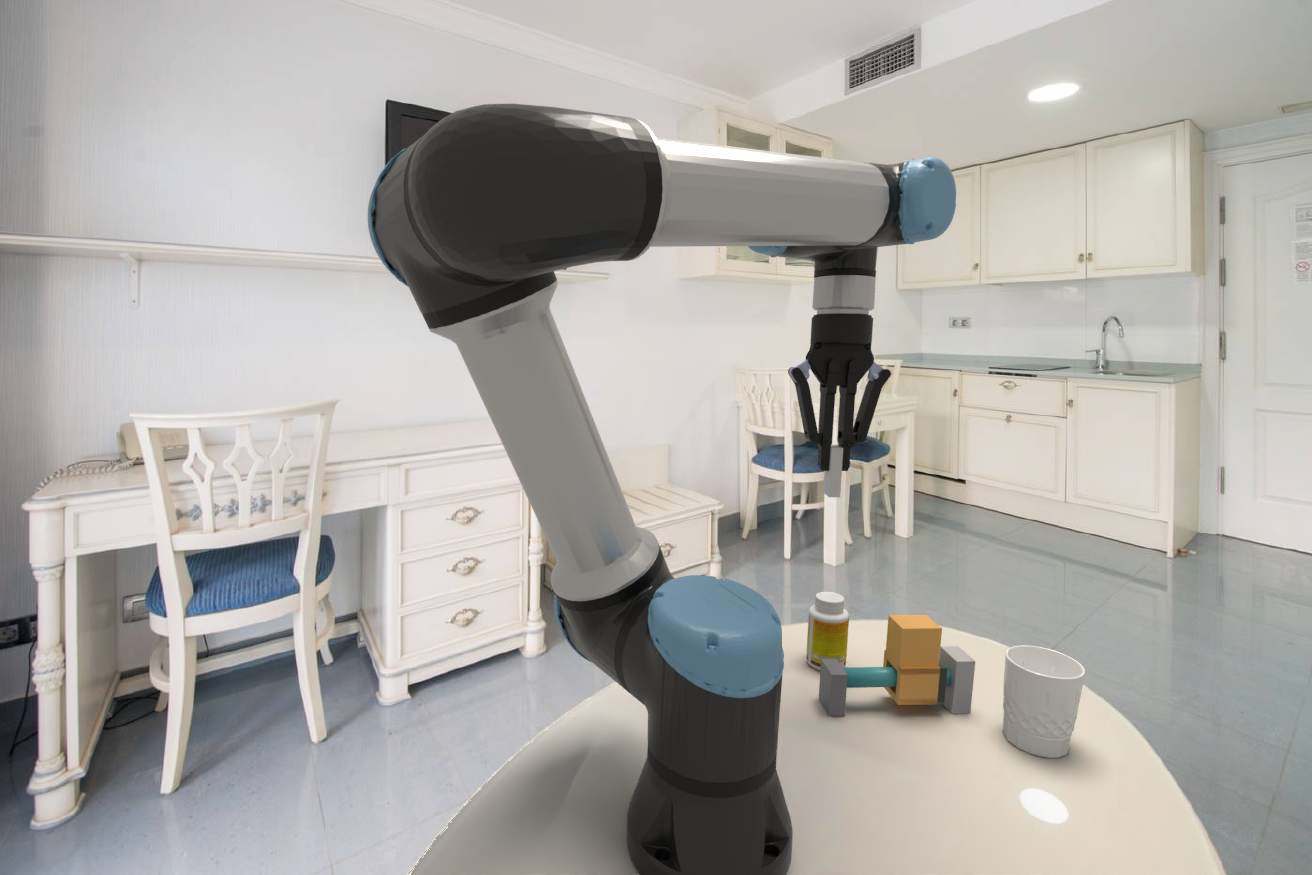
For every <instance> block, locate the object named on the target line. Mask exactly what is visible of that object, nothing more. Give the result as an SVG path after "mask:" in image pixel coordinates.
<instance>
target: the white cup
mask: <svg viewBox="0 0 1312 875" xmlns="http://www.w3.org/2000/svg"><path fill="white" fill-rule="evenodd" d="M1004 654H1005V656H1004V671H1003V672H1004V675H1003V699H1002V700H1003V701H1002V702H1003V703H1002V707H1003V721H1002V733H1003V735H1004V737H1005V738H1006V740H1007V741H1008V742H1010V744H1012V745H1014V746H1015V747H1016V748H1018V749H1020V750H1022V751H1024V752H1026V753H1028V754H1031V755H1035V756H1037V757H1038V756H1039V757H1043V758H1048V759H1049V758H1052V759H1053V758H1056V759H1057V758H1058V759H1059V758H1062V757H1064V756H1066V755H1068V753H1069V749H1070V744H1071V743H1070V742H1071V739H1072V738H1071V737H1072V736H1073V735H1072V734H1073V732H1074V730H1075V724H1076V721H1077V718H1078V712H1079V706H1080V702H1081V701H1080V700H1081V697H1082V691H1083V685H1084V680H1085V676H1086V669H1085V667H1084V666H1083V665H1082V664H1081V663H1080V662H1079V661H1078V660H1076V659H1074V658H1072V656H1069V655H1067V654H1065V653H1062V652H1060V651H1057V650H1054V649H1050V648H1046V647H1042V646H1038V645H1026V644H1023V645H1022V644H1021V645H1013V646H1011V647H1009V648H1007V649H1006V650H1005V653H1004Z"/></svg>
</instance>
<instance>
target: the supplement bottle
mask: <svg viewBox="0 0 1312 875" xmlns="http://www.w3.org/2000/svg"><path fill="white" fill-rule="evenodd" d="M808 610H809V611H808V619H807V620H808V621H807V637H806V638H807V639H806V655H805V657H806V662H807V664H808V665H809V666H810V667H812V668H813V669H816V670H818V671H820V669H821V659H837V661H838V662H839V663H840V665H841V666H842V668H846V665H847V652H848V640H849V639H848V637H849V622H850V614H849V612H848V610H847V609H846V608H845V597H844V596H843V595H841V594H839V593H838V592H832V591H821V592H817V593H816V594H815V601H814V604H813V605H812V606H811V607H809V609H808Z"/></svg>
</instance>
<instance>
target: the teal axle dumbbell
mask: <svg viewBox="0 0 1312 875" xmlns="http://www.w3.org/2000/svg"><path fill="white" fill-rule="evenodd" d="M939 667H940V676H939V687H938V698H937V704H942V705H943V706H944V707H945V708H946V709H947V710H948V712H949V713H951V715H956V714H957V715H958V714H960V715H962V714H963V715H966V714H971V710H972V701H973V700H972V699H973V690H974V678H975V671H976V670H975V669H976V661H975V660H974V659H973V658H972V657H971V656H970V655H969V654H968V653H967V652H965V650H963V649H962V648H961V647H960V646H959V645H955V646H954V645H952V646H949V645H947V646H945V645H944V646H943V645H942V646H940V656H939ZM819 672H820V673H819V686H818V701H819V702H820V704H821V706H822V707H823V708H824V710H825V712H826V713H827V715H828V718H829V717H846V715H845V714H846V703H847V702H846V701H847V689H852V688H854V689H859V688H860V689H861V688H884V687H896V685H897V672H898V671H897V670H896V669H895V668H894V667H883V666H867V667H866V666H865V667H864V666H861V667H860V666H859V667H856V666H854V667H852V666H851V667H844V668H842V666H841V665H840V663H839V662H838V661H837V659H821V669H820V670H819Z"/></svg>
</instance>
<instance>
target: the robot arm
mask: <svg viewBox="0 0 1312 875" xmlns="http://www.w3.org/2000/svg"><path fill="white" fill-rule="evenodd" d="M369 197H370V198H369V199H368V200H369V201H368V207H367V227H368V232H369V237H370V240H371V243H372V245H373V248H374V251H375V253H376V254H377V256H378V258H379V260H380V262H381V263H382V264H383V266H384V267H385V268H386V269H387V271H388V272H390V274H391V275H393V276H394V277H395V278H396V279H397V280H398V281H399V282H401V283H402V284H403V285H405V286H407V287H408V289H409V291H410V293H411V295H412V297H413V298H414V301H415V303H416V306H417V308H418V309H419V312H420V314H421V316H422V317H423V319H424V322H425V324H426V325H427V328H428V330H429V332H431V333H433V334H434V335H438V336H440V337H443V338H445V339H447V340H450V341H451V342H453V343H454V344H456V347H457V349H458V351H459V353H460V355H461V357H462V360H463V361H464V364H465V366H466V368H467V370H468V373H469V374H470V377H471V380H472V382H473V383H474V385H475V387H476V390H477V392H478V394H479V397H480V398H481V400H482V402H483V405H484V407H485V409H486V411H487V413H488V415H489V419H490V420H491V422H492V424H493V427H494V429H495V431H496V433H497V435H498V437H499V439H500V441H501V442H500V443H502V446H503V448H504V450H505V452H506V454H507V457H508V459H509V461H510V463H511V465H512V468H513V469H514V472H515V474H516V477H517V478H518V480H519V482H520V485H521V487H522V489H523V491H524V493H525V496H526V497H527V500H528V501H529V504H530V506H531V509H532V510H533V513H534V515H535V518H536V519H537V521H538V524H539V525H540V528H541V531H542V532H543V534H544V536H545V539H546V540H547V543H548V545H549V546H550V549H551V552H552V554H553V555H554V558H555V560H556V563H555V565H554V567H553V569H552V571H551V574H550V585H551V588H552V590H553V592H554V595H553V614H554V618H555V621H556V625H557V627H558V629H559V631H560V633H561V635H562V636H563V638H564V639H565V641H566V642H567V643H568V644H569V646H570V648H572V649H573V651H574V652H575V653H577V654H578V655H579V656H580V657H582V658H583V659H585V660H586V661H587V662H590V663H592V664H593V665H594V666H596V667H597V668H598V669H600V670H601V671H602V672H603V673H605V674H606V676H608V677H609V678H610V679H612V680H613V681H614V682H616V684H618V685H619V686H620V687H622V688H623V689H624V691H626V692H627V693H629V694H630V695H631V696H632V697H634V698H635V699H636V700H637V701H638V702H640V703H641V704H642V705H643V706H645V708H646V709H645V710H646V711H647V751H646V753H647V754H646V758H645V762H644V765H643V768H642V770H641V773H640V775H639V778H638V781H637V784H636V786H635V788H634V791H633V794H632V796H631V799H630V802H629V805H628V808H627V809H628V810H627V813H626V814H627V815H626V847H627V852H628V855H629V858H630V860H631V862H632V864H633V866H634V867H635V870H636V871H637V872H638V873H639V875H787V873H788V870H789V869H790V865H791V861H792V852H793V851H792V850H793V823H792V819H791V816H790V811H789V808H788V805H787V802H786V797H785V794H784V791H783V788H782V783H781V780H780V777H779V774H778V771H777V755H778V745H779V744H778V741H779V727H780V713H781V700H782V699H781V698H782V687H783V686H782V685H783V683H782V682H783V673H784V667H785V661H784V658H785V653H784V649H783V628H782V623H781V619H780V617H779V614H778V612H777V611H776V609H775V607H774V606H773V604H771V603H770V601H768V599H766V598H765V597H764V596H763V595H762V594H760V593H759V592H757V591H756V590H754V588H751V587H749V586H747V585H745V584H743V583H740V582H738V581H734V580H731V579H728V578H726V579H723V580H721V579H718V578H717V577H716V576H712V575H703V574H692V575H691V574H690V575H684V576H678V577H676V578H675V577H674V576H673V574H672V573H671V572H670V569H669V567H668V564H667V561H666V559H665V556H664V553H663V550H662V548H661V546H660V544H659V541H658V539H657V537H656V535H655V534H654V532H652V531H650V530H649V529H647V528H643V527H639V526H637V525H636V523H635V521H634V518H633V516H632V514H631V511H630V508H629V505H628V503H627V501H626V498H625V495H624V492H623V490H622V487H621V486H620V483H619V481H618V478H617V475H616V473H615V470H614V468H613V465H612V463H611V461H610V460H611V459H610V458H609V454H608V453H607V450H606V447H605V445H604V441H603V440H602V437H601V435H600V433H599V430H598V428H597V427H598V426H597V425H596V422H595V420H594V417H593V415H592V412H591V409H590V407H589V405H588V402H587V399H586V397H585V394H584V392H583V389H582V387H581V384H580V382H579V380H578V377H577V374H576V372H575V369H574V367H573V364H572V361H571V358H570V357H569V354H568V351H567V349H566V346H565V343H564V341H563V339H562V335H561V333H560V331H559V328H558V326H557V323H556V321H555V319H554V316H553V313H552V310H551V308H550V304H551V302H552V299H553V297H554V294H555V292H556V289H557V287H558V284H559V283H558V282H559V281H558V278H557V277H556V274H555V272H556V271H560V270H564V269H567V268H572V267H577V266H578V267H579V266H583V265H589V264H593V263H605V262H629V261H633V260H637V259H639V258H640V257H641V256H642V255H644V254H645V253H646V252H647V251H648V250H649V248H651V247H653V248H655V247H656V248H657V247H659V248H661V247H662V248H663V247H665V248H666V247H668V248H669V247H670V248H671V247H748V248H749V249H750V250H751V251H753V252H754V253H757V254H762V255H766V256H768V257H770V258H777V257H779V258H787V259H798V260H806V261H810V262H811V261H812V262H814V267H813V269H814V270H813V279H814V280H813V292H812V293H813V294H812V295H813V296H812V309H813V310H814V311H816V314H813V316H812V317H811V323H810V324H811V325H810V326H811V327H810V341H809V342H810V347H809V349H808V351H807V353H806V355H805V360H804V361H802V362H801V363H799V364H797V365H796V366H791V367H789V368H788V370H787V373H788V375H789V377H790V379H791V380H792V382H793V384H794V388H795V392H796V396H797V401H798V408H799V411H800V412H799V413H800V418H801V423H802V424H801V425H802V430H803V433H804V434H803V435H804V438H805V439H806V440H809V441H810V442H812V443H816V445H817V446H818V449H817V468H818V469H819V470H820V471H822V472H823V473H824V474H823V488H822V489H823V490H822V491H823V494H824V495H826V497H828V498H841V490H842V488H841V487H842V478H843V476H842V475H843V474H842V473H843V472H848V471H849V469H850V462H851V460H850V459H851V450H852V448H853V447H854V445H857V444H858V443H865V441H866V440H867V437H868V434H869V431H870V428H871V425H872V421H873V418H874V415H875V412H876V408H877V405H878V402H879V399H880V396H881V392H882V389H883V387H884V386H885V384H886V383H887V381H889V379H890V378H891V376H892V372H891V370H889V369H888V368H883V367H882V366H880V365H879V364H877V362H875V356H874V354H873V351H872V344H873V343H872V341H873V331H874V330H873V329H874V328H873V327H874V317H872V314H870V311H873V310H874V309H875V300H876V298H875V297H876V279H877V278H876V277H877V270H876V268H877V258H878V249H879V248H880V247H881V248H882V247H891V246H892V247H893V246H900V245H914V244H915V243H920V242H924V241H931V240H934V239H937V238H939V237H940V236H942V235H943V234H944V233H945V232H946V231H947V230H948V228H950V225H951V224H952V222H953V219H954V216H955V212H956V207H957V203H956V202H957V187H956V181H955V177H954V174H953V172H952V171H951V168H950V167H949V166H948V164H946V163H945V161H943V160H942V159H941V158H939V157H934V156H928V157H924V158H918V159H914V158H909V159H906V160H905V161H903V162H899V163H893V164H892V163H891V164H884V163H883V164H882V163H877V162H876V163H875V162H862V161H861V162H860V161H853V160H844V159H836V158H830V157H829V158H828V157H821V156H813V155H812V156H811V155H804V154H795V153H787V152H779V151H769V150H765V149H764V150H763V149H756V148H755V149H754V148H747V147H739V146H729V145H725V144H714V143H706V142H699V141H691V140H690V141H689V140H682V139H674V138H673V139H672V138H665V137H657V136H655V134H654V132H653V131H652V130H651V128H650V127H649V126H648V125H647V124H646V123H645V122H643V121H642V120H640V119H638V118H635V117H629V116H624V115H623V116H622V115H614V114H608V113H607V114H606V113H600V112H593V111H585V110H578V109H572V108H571V109H570V108H562V107H555V106H547V105H534V104H523V103H487V104H486V103H485V104H480V105H476V106H471V107H467V108H464V109H459V110H455V111H454V112H452V113H450V114H449V115H446V116H445V117H443V118H442V119H441V118H440V120H439V121H438V122H436V123H435V124H434V125H433V126H431V127H430V128H429V129H428V130H427V132H426V133H425V134H424V135H422V136H421V137H419V138H418V139H416V141H414V143H412V144H411V145H409V146H408V147H405V148H403V149H402V150H400V151H399V152H398V153H397V154H395V155H394V156H393V157H392V158H391V159H390V160H389V161H388V162H387V163H386V164H385V166H384V167H383V169H382V170H381V171H380V173H379V175H378V177H377V179H376V181H375V184H374V186H373V189H372V191H371V194H370V196H369ZM810 371H811V372H812V374H813V375H814V376H815V379H816V380H817V382H819V393H820V397H819V413H818V414H819V416H818V426H817V420H816V416H815V415H816V414H815V410H814V404H813V398H812V395H811V394H812V392H811V389H810V388H811V387H810V384H809V382H808V380H809V378H810ZM866 373H867V379H868V381H867V382H866V385H865V388H864V391H863V395H862V398H861V401H860V404H859V408H858V411H857V413H856V417H855V403H856V401H855V400H856V395H857V391H858V383H859V382H860V381H861V380H862V378H864V376H865V375H866ZM837 390H838V391H839V404H838V421H837V422H838V423H837V439H836V440H837V444H833V435H834V419H835V418H834V417H835V401H836V394H837ZM854 419H855V420H854Z"/></svg>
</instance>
